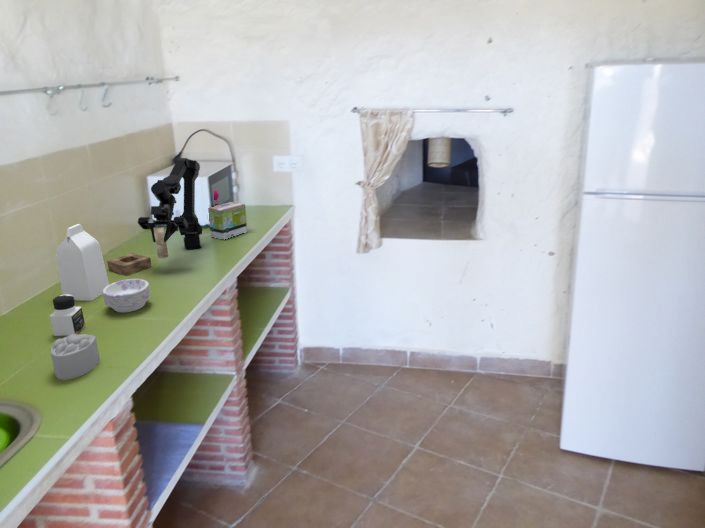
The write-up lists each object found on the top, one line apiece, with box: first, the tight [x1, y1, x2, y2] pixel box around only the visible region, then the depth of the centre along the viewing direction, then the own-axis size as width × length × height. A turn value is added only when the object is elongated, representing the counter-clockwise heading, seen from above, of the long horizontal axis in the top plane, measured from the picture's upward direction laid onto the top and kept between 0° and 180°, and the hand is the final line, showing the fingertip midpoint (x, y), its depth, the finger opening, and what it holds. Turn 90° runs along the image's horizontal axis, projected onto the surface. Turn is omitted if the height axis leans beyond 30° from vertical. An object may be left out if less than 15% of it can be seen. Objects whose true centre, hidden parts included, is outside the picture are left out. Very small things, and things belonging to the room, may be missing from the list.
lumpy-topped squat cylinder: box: [50, 333, 101, 381], centre depth 168 cm, size 10×13×9 cm
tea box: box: [207, 201, 248, 241], centre depth 287 cm, size 15×10×15 cm
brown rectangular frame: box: [107, 252, 152, 276], centre depth 248 cm, size 12×12×4 cm
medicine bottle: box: [49, 294, 86, 337], centre depth 191 cm, size 7×7×12 cm
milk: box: [55, 223, 110, 302], centre depth 219 cm, size 12×12×26 cm
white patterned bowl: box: [102, 278, 152, 313], centre depth 208 cm, size 15×15×8 cm
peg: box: [154, 225, 169, 259], centre depth 237 cm, size 4×4×12 cm
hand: (159, 241), depth 236 cm, fingers closed on peg, 4 cm apart
